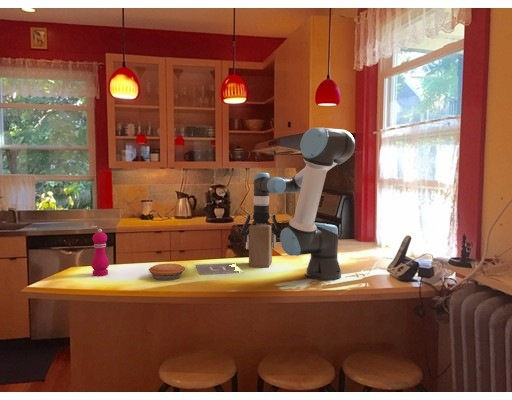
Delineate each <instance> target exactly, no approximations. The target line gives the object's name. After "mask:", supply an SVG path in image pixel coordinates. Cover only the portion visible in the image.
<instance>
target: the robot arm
mask: <svg viewBox="0 0 512 400" xmlns="http://www.w3.org/2000/svg"><path fill="white" fill-rule="evenodd" d="M299 147H300V152H301V155H302V156H303V161H304V163H305V167H303V169H301V170H300V171H299V172H297V173H296V174H294V176H291V177H289V176H288V177H287V176H285V177H284V176H281V177H280V176H270V172H269V173H268V172H255V173H254V175H253V210H252V211H253V213H252V214H247V215H246V219H245V221H244V223H243V226H242V228H241V230H240V232H239V234H241V235H242V236H243V242H244V243H245V250H249V227H250V226H251V225H256V224H267V225H271V224H272V223H273V224H274V226H273V224H272V225H271V229H272V249H276V246H277V245H276V243H277V242H278V241H280V244H281V245H280V246H281V248H282V250H283V252H284V253H286V254H287V255H288V256H296V257H299V256H304V255H310V257H309V258H310V259H309V262H308V264H307V267H306V269H305V270H306V271H305V275H306V276H307V277H308V278H310V279H315V280H321V281H322V280H325V281H326V280H328V281H329V280H331V281H332V280H337V279H340V278H342V270H341V266H340V263H339V260H338V254H339V253H338V251H339V250H338V249H339V247H338V246H339V228H338V226H337V225H334V224H331V223H330V224H329V223H328V224H327V223H322V222H315V221H316V218H317V212H318V209H319V205H320V201H321V197H322V192H323V189H324V184H325V181H326V177H327V173H328V171H330V170H331V169H332V168H334V167H335V166H337V165H341V164H343V163H345V162H346V161H348V159H350V158H351V156H353V154H354V152H355V149H356V140H355V138H354V137H353V135H352V134H351V133H350V132H349V131H347V130H345V129H341V128H328V127H323V126H322V127H311V128H309V129H308V130H307V131H305V132H304V133H303V136H302V138H301V139H300V144H299ZM270 194H274V195H279V194H299V195H298V198H297V203H296V207H295V212H294V215H293V218H292V219H290V220H289V222H288V225H287V227H283V229H282V230H281V228H280V226H279V223H278V221H277V218H276V214H270V205H269V204H270ZM252 219H253V221H251V220H252ZM269 219H271V220H272V223H270V221H269ZM250 221H251V224H250V225H249V223H250ZM248 225H249V226H248ZM278 235H279V236H278ZM278 237H279V239H278Z"/></svg>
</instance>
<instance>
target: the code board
mask: <svg viewBox="0 0 512 400" xmlns="http://www.w3.org/2000/svg"><path fill="white" fill-rule="evenodd" d="M235 263H236V262H229V263H208V264H207V263H205V264H204V263H203V264H195V267H196V269H197V271H198V274H199V275H200V276H201V275H204V276H205V275H220V274H221V275H222V274H224V275H225V274H226V275H227V274H240V273H239V271H234V270H235V267H231V266H229V265H232V264H235Z"/></svg>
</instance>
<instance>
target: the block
mask: <svg viewBox="0 0 512 400" xmlns="http://www.w3.org/2000/svg"><path fill="white" fill-rule="evenodd" d="M270 224H271V225H272V226H273V224H272V223H270ZM250 225H251V224H250ZM250 225H249V226H250ZM271 225H267V224H266V223H265V224H256V225H251V226H250V227H249V226H248V227H249V233H248V236H249V249H248V266H249V267H250V266H253V267H255V268H269V267H270V266H271V265H272V263H273V231H272V229H271Z"/></svg>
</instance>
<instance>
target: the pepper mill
mask: <svg viewBox="0 0 512 400" xmlns="http://www.w3.org/2000/svg"><path fill="white" fill-rule="evenodd" d="M107 240H108V235H107V234H106V233H105V232H103V230H102V228H98V229H97V232H95V233H94V234H93V235H92V241H93V243H94V244H93V248H94V256H93V258H92V259H91V265H90V266H91V268H92V269H93V270H92V276H94V277H103V276H104V277H105V276H107V275H108V274H109V270H108V268H109V266H110V261H109V259H108V257H107V255H106V247H107V243H106V242H107Z"/></svg>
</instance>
